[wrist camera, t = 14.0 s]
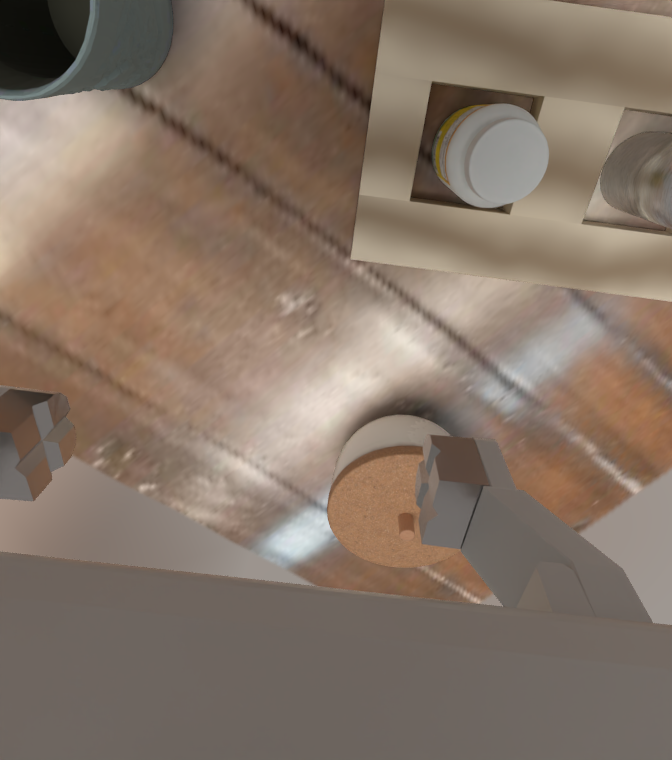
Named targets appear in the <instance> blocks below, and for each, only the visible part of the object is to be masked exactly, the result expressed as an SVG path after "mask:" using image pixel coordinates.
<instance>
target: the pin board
mask: <svg viewBox="0 0 672 760" xmlns="http://www.w3.org/2000/svg"><path fill="white" fill-rule="evenodd" d="M431 83H432V84H439V85H447V86H454V87H461V88H469V89H476V90H483V91H491V92H498V93H506V94H513V95H520V96H528V97H534V101H533V104H532V108H531V111H530V114H531V115H532V116H533V117H534V119H535V120H536V121H537V123H538V125H539V127H540V129H541V131H542V132H543V134H544V136H545V138H546V140H547V143H548V148H549V160H548V165H547V169H546V172H545V174H544V176H543V178H542V180H541V181H540V183H539V184H538V186H537V187H536V188H535V189H534V190H533V191H532V192H531V193H530V194H528V195H527V196H525V197H524V198H522V199H520V200H518V201H516V202H513V203H510V204H505V205H504V206H503V209H495V208H481V207H476V206H472V205H465V204H457V203H450V202H442V201H435V200H427V199H420V198H412V197H410V196H411V191H412V185H413V180H414V175H415V169H416V164H417V159H418V153H419V148H420V142H421V137H422V132H423V126H424V121H425V116H426V110H427V105H428V100H429V94H430V89H431ZM624 110H631V111H638V112H645V113H653V114H660V115H667V116H672V17H667V16H660V15H653V14H645V13H638V12H631V11H624V10H616V9H609V8H602V7H595V6H587V5H580V4H573V3H566V2H559V1H551V0H385V2H384V10H383V17H382V25H381V32H380V40H379V47H378V55H377V62H376V70H375V77H374V85H373V92H372V100H371V107H370V115H369V123H368V130H367V138H366V145H365V153H364V160H363V168H362V175H361V183H360V190H359V198H358V205H357V213H356V220H355V228H354V235H353V243H352V250H351V259H352V260H359V261H367V262H375V263H382V264H390V265H397V266H405V267H413V268H420V269H428V270H435V271H443V272H451V273H458V274H466V275H473V276H481V277H489V278H496V279H504V280H511V281H519V282H527V283H534V284H542V285H549V286H557V287H565V288H572V289H580V290H587V291H595V292H603V293H610V294H618V295H626V296H633V297H641V298H648V299H656V300H664V301H671V302H672V229H670V228H667V227H666V230H665V231H660V230H652V229H645V228H637V227H630V226H622V225H615V224H607V223H600V222H592V221H585V220H583V219H584V216H585V213H586V211H587V208H588V205H589V202H590V200H591V197H592V194H593V192H594V189H595V186H596V184H597V181H598V178H599V176H600V173H601V170H602V168H603V165H604V162H605V160H606V157H607V154H608V152H609V149H610V146H611V144H612V141H613V138H614V135H615V133H616V130H617V127H618V125H619V122H620V119H621V117H622V114H623V111H624Z"/></svg>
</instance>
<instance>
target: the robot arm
mask: <svg viewBox="0 0 672 760" xmlns="http://www.w3.org/2000/svg"><path fill="white" fill-rule="evenodd" d="M69 411H70V406H69V403H68V399H67V397H66V396H65V395H63V394H62V393H58V392H50V391H42V390H35V389H27V388H20V387H17V388H16V387H11V386H2V385H0V499H12V500H24V501H34V500H35V499H36V498H37V497H38V496H39V494H40V493H41V492H42V491H43V490H44V489H45V488H46V486H47V485H48V484H49V483H50V482H51V481H52V474H51V472H52V471H54V470H56V469H58V468H60V467H62V466H64V465H65V464H66V463H67V461H68V460H69V459H70V458H71V456H72V454H73V451H74V448H75V446H76V431H75V427H74V425H73V424H72V423H71V422H70V421H69V420H68V419H67V418H66V415H67V414H68V412H69ZM423 455H424V460H423V461H421V462H420V463H419V465H418V469H417V474H416V483H415V498H416V505H417V506H418V507H419V508H420V509H421V511H420V515H419V519H418V521H419V528H420V536H421V543H422V544H425V545H432V546H439V547H447V548H454V549H461V552H462V554H463V555H464V556H465V557H466V559H467V560H468V561H469V563H470V564H471V565H472V566H473V568H474V569H475V570H476V572H477V573H478V574H479V575H480V577H481V578H482V579H483V581H484V582H485V583H486V584H487V586H488V587H489V588H490V590H491V591H492V592H493V593H494V595H495V596H496V597H497V598H498V600H499V601H500V602H501V603H502V605H503V606H504V607H502V606H492V605H484V604H475V603H466V602H457V601H447V600H438V599H429V598H419V597H410V596H401V595H391V594H382V593H373V592H363V591H354V590H345V589H336V588H327V587H318V586H310V585H301V584H291V583H283V582H274V581H265V580H256V579H247V578H238V577H228V576H219V575H210V574H201V573H193V572H183V571H174V570H165V569H156V568H147V567H138V566H137V567H136V566H128V565H119V564H110V563H101V562H92V561H82V560H73V559H64V558H55V557H46V556H37V555H28V554H17V553H9V552H0V760H672V625H666V624H657V623H653V622H652V620H651V618H650V616H649V615H648V613H647V611H646V609H645V608H644V606H643V604H642V602H641V600H640V599H639V597H638V595H637V593H636V591H635V590H634V588H633V586H632V584H631V583H630V581H629V579H628V577H627V576H626V574H625V572H624V570H623V569H622V568H621V567H620V566H618V565H617V564H616V563H615V562H613V561H612V560H611V559H610V558H608V557H607V556H606V555H605V554H603V553H602V552H601V551H599V550H598V549H597V548H596V547H594V546H593V545H592V544H591V543H589V542H588V541H587V540H586V539H584V538H583V537H582V536H581V535H579V534H578V533H577V532H575V531H574V530H573V529H572V528H570V527H569V526H568V525H567V524H565V523H564V522H563V521H562V520H560V519H559V518H558V517H557V516H555V515H554V514H553V513H551V512H550V511H549V510H548V509H546V508H545V507H544V506H543V505H541V504H540V503H539V502H538V501H536V500H535V499H534V498H532V497H531V496H530V495H529V494H527V493H526V492H525V491H524V490H517V489H516V487H515V484H514V482H513V479H512V477H511V474H510V472H509V470H508V467H507V465H506V462H505V460H504V458H503V455H502V453H501V450H500V448H499V445H498V443H497V442H496V441H495V440H494V439H482V438H464V437H454V436H444V435H434V434H427V435H426V438H425V440H424V444H423Z"/></svg>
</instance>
